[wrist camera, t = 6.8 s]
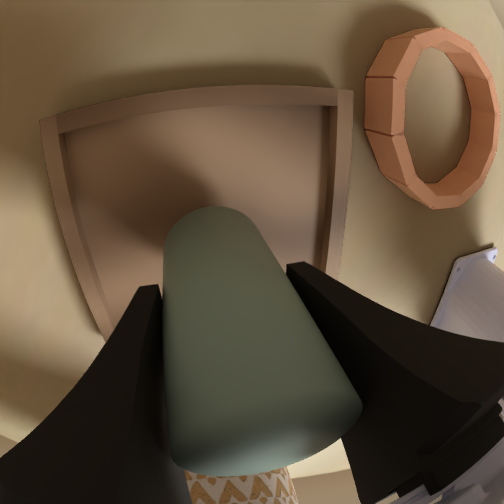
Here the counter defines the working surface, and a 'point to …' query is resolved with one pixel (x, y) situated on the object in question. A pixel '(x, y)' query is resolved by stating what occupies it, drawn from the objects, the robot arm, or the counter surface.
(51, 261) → the counter surface
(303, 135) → the walnut tray
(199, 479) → the vase
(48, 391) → the counter surface
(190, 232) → the gray-green peg
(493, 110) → the faceted terracotta ring
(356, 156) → the counter surface
